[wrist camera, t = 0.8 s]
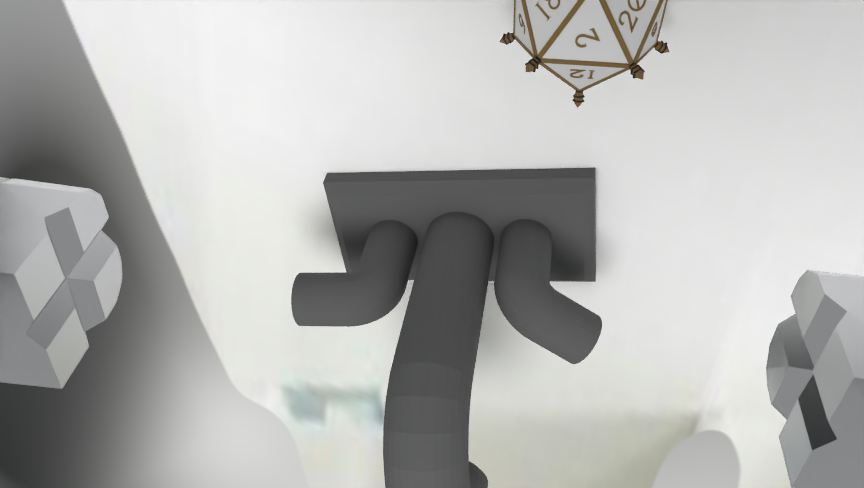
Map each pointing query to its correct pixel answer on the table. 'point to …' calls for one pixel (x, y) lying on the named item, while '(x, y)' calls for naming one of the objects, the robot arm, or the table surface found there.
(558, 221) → the faucet
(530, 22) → the game die
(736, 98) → the table surface
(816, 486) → the robot arm
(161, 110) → the table surface
